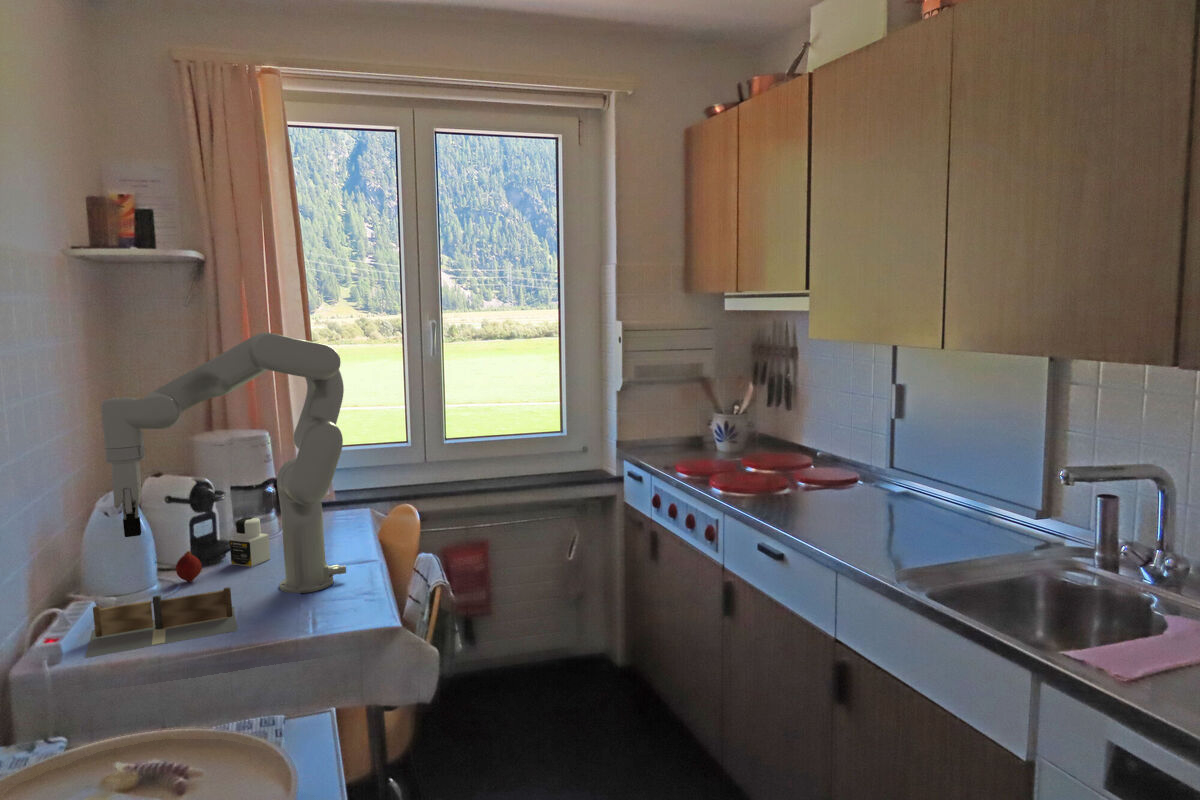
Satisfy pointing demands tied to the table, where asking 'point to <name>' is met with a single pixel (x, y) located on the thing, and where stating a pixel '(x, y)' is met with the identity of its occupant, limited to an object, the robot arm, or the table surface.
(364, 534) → the table surface
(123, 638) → the card
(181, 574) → the onion
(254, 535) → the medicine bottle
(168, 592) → the table surface
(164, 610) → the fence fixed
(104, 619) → the fence gate
